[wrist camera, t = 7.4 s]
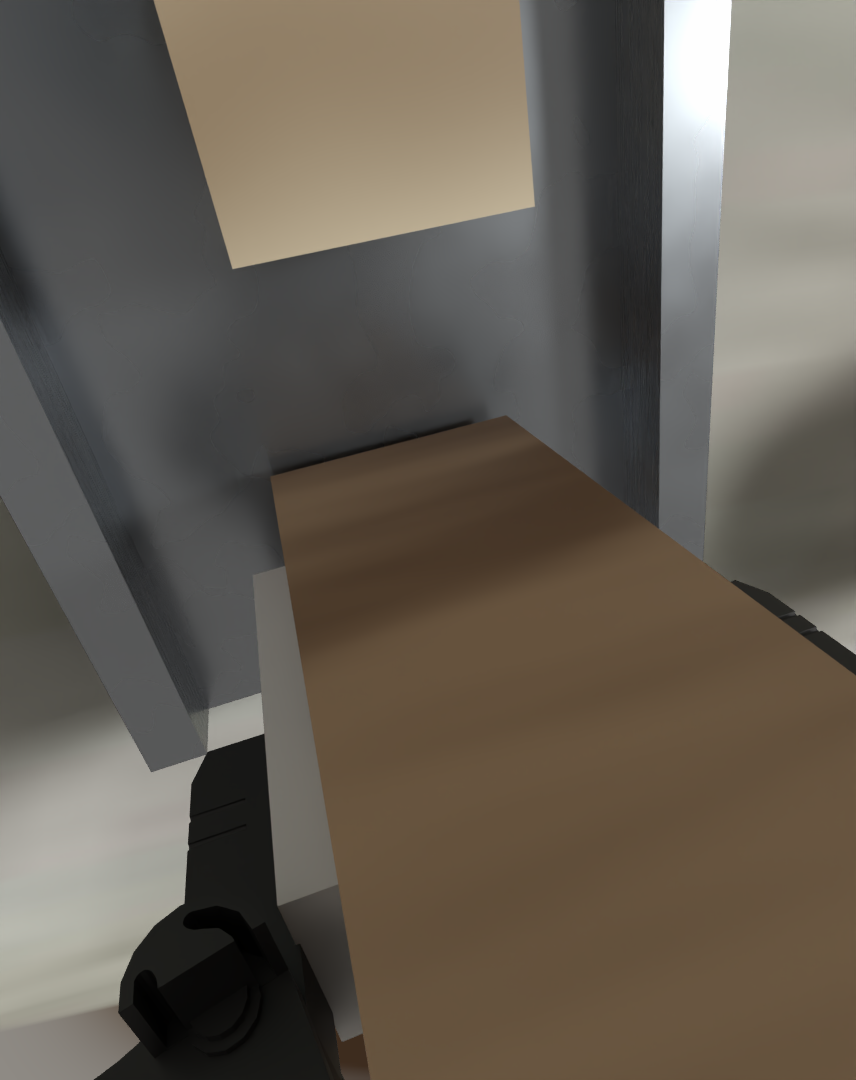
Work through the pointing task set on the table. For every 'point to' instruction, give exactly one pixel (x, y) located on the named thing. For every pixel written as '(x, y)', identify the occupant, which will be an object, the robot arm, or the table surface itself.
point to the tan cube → (351, 116)
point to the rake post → (567, 778)
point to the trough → (329, 326)
